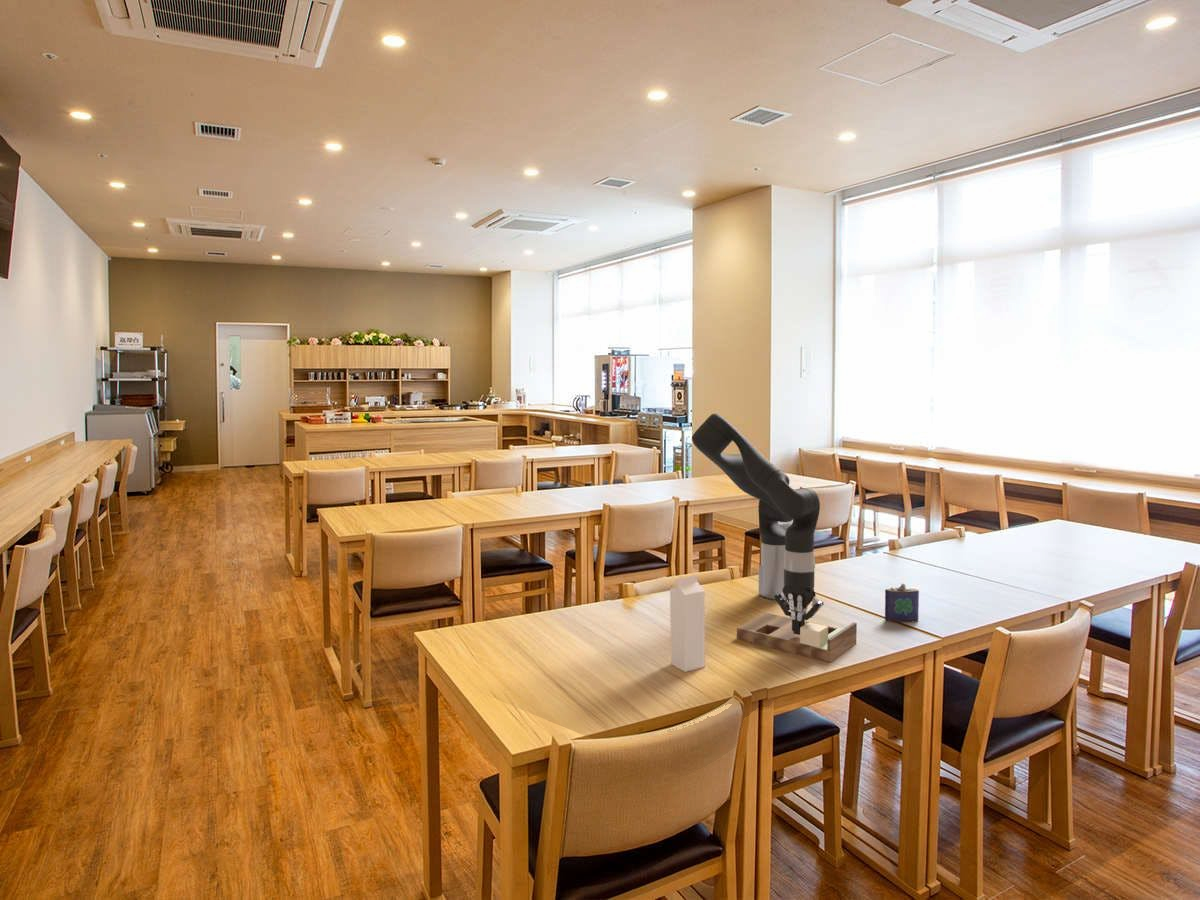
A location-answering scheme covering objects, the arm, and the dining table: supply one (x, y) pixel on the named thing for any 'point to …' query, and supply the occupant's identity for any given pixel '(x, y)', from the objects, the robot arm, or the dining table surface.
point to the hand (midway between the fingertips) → (798, 633)
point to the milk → (687, 624)
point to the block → (813, 634)
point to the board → (795, 637)
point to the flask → (901, 604)
